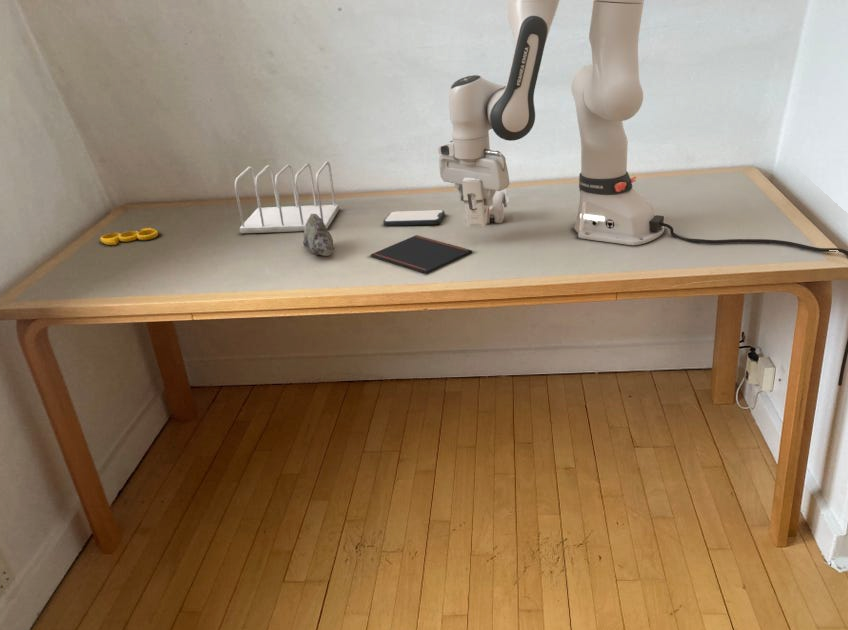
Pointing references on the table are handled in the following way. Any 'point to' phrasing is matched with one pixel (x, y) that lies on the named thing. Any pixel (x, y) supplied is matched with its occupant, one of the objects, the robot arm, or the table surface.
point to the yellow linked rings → (129, 236)
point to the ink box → (475, 203)
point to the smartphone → (414, 218)
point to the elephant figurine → (498, 206)
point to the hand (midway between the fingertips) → (476, 202)
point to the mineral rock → (317, 236)
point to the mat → (421, 254)
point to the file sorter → (286, 207)
